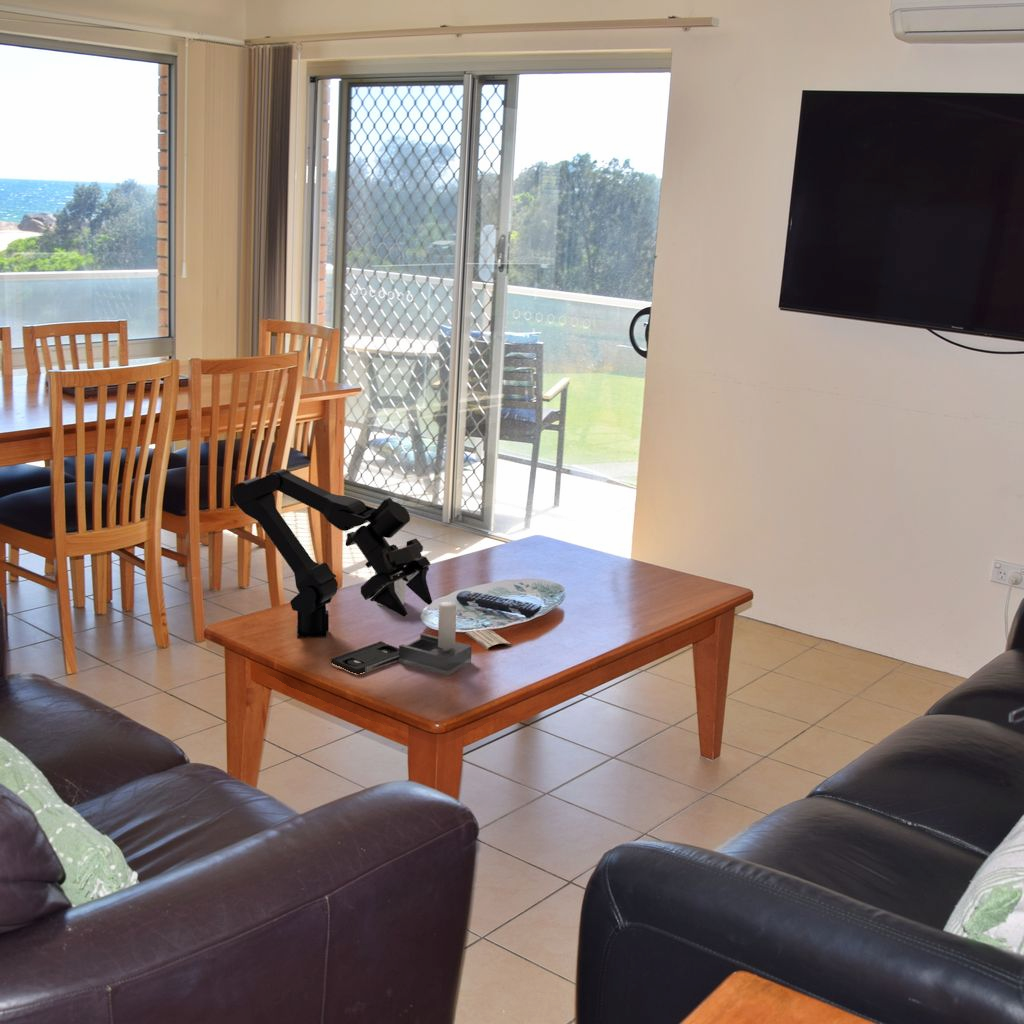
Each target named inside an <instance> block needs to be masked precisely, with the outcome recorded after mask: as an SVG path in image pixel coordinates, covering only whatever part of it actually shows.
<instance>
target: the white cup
mask: <svg viewBox="0 0 1024 1024" xmlns="http://www.w3.org/2000/svg"><path fill="white" fill-rule="evenodd" d="M405 566H406V565H405ZM405 566H404V567H405ZM376 574H377V573H376V572H375V571H374V575H376ZM398 576H399V575H398ZM391 579H392V578H391ZM407 583H408V582H406V581H404V580H403V579H400V580H397V581H395V582H394V586H395V593H396V594H397V596H398V598H399V599H400V601H401V602H402V604H403V605H404V604H405V602H406V601H405V600H406V591H407V585H406V584H407ZM376 604H377V605H379V606H381V607H385V606H383V605H381V604H379V603H377V602H376ZM385 608H386V607H385Z"/></svg>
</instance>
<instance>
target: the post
mask: <svg viewBox="0 0 1024 1024" xmlns="http://www.w3.org/2000/svg"><path fill="white" fill-rule="evenodd" d="M456 609H457V604H456V603H455V602H452V601H451V602H450V601H443V602H440V603H439V604H438V623H437V625H438V626H437V627H438V628H437V629H438V630H437V631H438V632H437V633H438V634H437V635H438V636H437V637H438V647H440V648H442V649H443V651H446V652H447V651H448V650H450V649H451V648H454V647H455V642H456V630H457V629H456V628H457V627H456Z"/></svg>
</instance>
